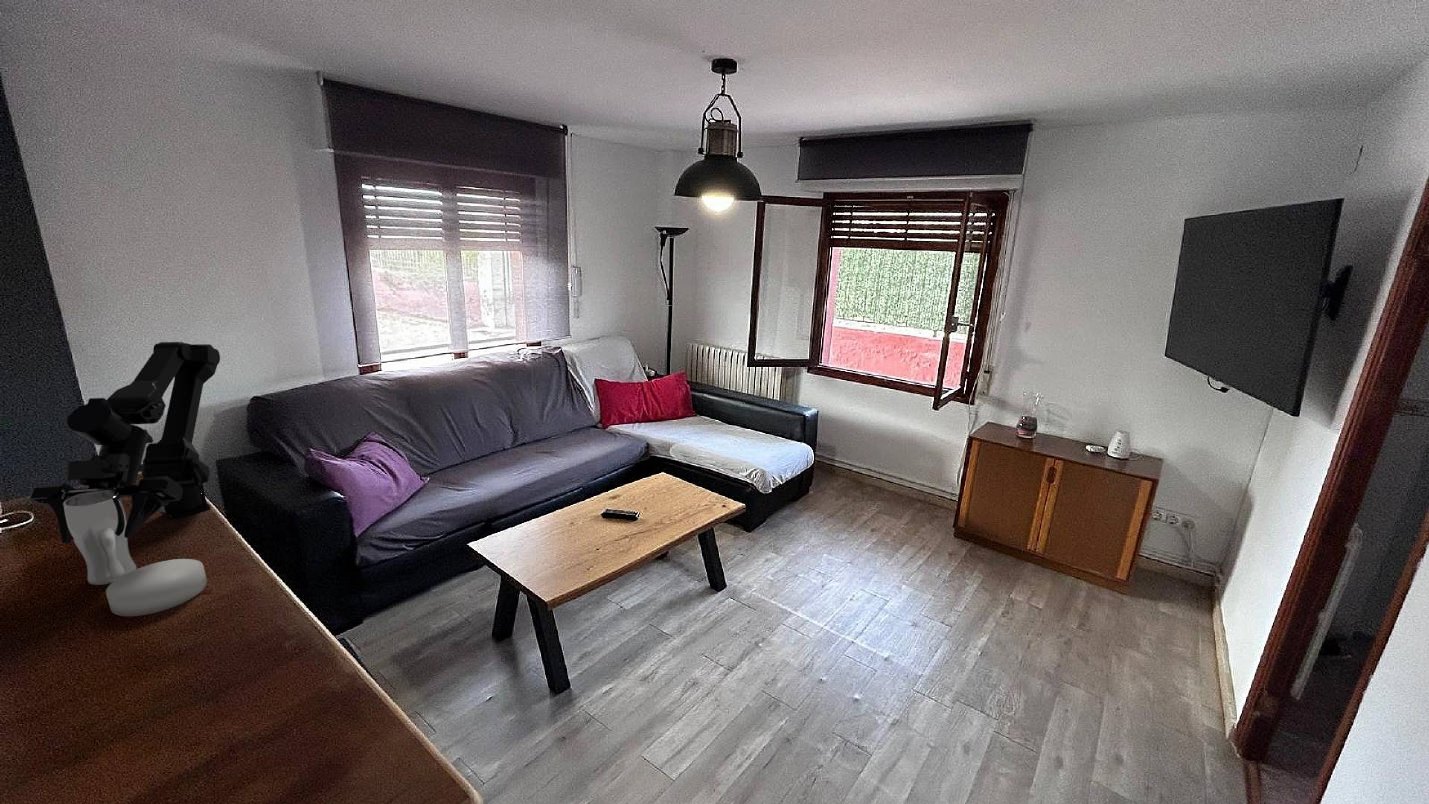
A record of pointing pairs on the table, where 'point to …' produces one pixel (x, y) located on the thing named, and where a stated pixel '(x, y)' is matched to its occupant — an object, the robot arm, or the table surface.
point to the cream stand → (156, 587)
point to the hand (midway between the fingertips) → (96, 540)
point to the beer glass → (100, 534)
